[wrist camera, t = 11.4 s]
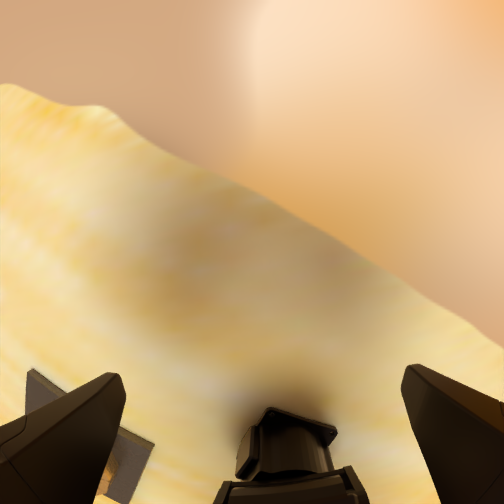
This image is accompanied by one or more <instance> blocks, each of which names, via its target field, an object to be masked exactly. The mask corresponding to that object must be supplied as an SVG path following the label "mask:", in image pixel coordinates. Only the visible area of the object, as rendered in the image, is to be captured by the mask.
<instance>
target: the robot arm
mask: <svg viewBox="0 0 504 504" xmlns="http://www.w3.org/2000/svg"><path fill="white" fill-rule="evenodd" d="M401 393H402V397H403V400H404V403H405V406H406V410H407V413H408V417H409V420H410V423H411V427H412V430H413V432H414V435H415V437H416V439H417V442H418V444H419V447H420V449H421V452H422V454H423V457H424V459H425V462H426V464H427V467H428V469H429V472H430V475H431V477H432V480H433V483H434V485H435V488H436V491H437V494H438V496H439V499H440V502H441V504H504V403H503V402H501V401H500V402H499V400H497V399H494V398H492V397H490V396H488V395H485V394H483V393H481V392H479V391H477V390H474V389H472V388H470V387H468V386H466V385H464V384H461V383H459V382H457V381H455V380H453V379H451V378H448V377H446V376H444V375H442V374H440V373H438V372H436V371H434V370H431V369H429V368H427V367H425V366H423V365H421V364H412V365H408V366H407V367H406V369H405V373H404V376H403V380H402V384H401ZM125 402H126V392H125V389H124V386H123V383H122V379H121V377H120V375H119V374H118V373H111V372H107V373H105V374H103V375H101V376H99V377H97V378H95V379H94V380H92V381H90V382H88V383H86V384H84V385H82V386H80V387H79V388H77V389H75V390H73V391H71V392H69V393H67V394H65V395H63V396H61V397H59V398H58V399H56V400H54V401H52V402H50V403H48V404H46V405H44V406H42V407H40V408H38V409H36V410H34V411H32V412H30V413H28V415H24V416H22V417H20V418H18V419H16V420H14V421H12V422H9V423H7V424H5V425H2V426H0V504H93V502H94V499H95V496H96V493H97V490H98V487H99V484H100V481H101V478H102V475H103V473H104V470H105V467H106V464H107V461H108V459H109V456H110V453H111V451H112V448H113V445H114V443H115V440H116V437H117V433H118V429H119V425H120V421H121V417H122V413H123V409H124V405H125ZM271 412H272V413H274V414H273V415H270V414H269V413H271ZM330 432H333V433H331V434H330ZM337 434H338V432H337V429H336V428H335V427H332V426H329V425H325V424H322V423H319V422H316V421H312V420H309V419H306V418H303V417H300V416H297V415H294V414H291V413H288V412H285V411H282V410H279V409H277V408H273V407H269V408H267V409H266V410H265V412H264V413H263V415H262V417H261V418H260V420H259V421H258V423H257V425H253V426H251V427H250V429H249V430H248V432H247V434H246V435H245V437H244V438H243V440H242V441H241V443H240V444H239V449H238V454H237V464H236V472H235V476H236V478H237V479H241V482H232V481H224V482H223V484H222V486H221V488H220V489H219V491H218V494H217V496H216V498H215V500H214V502H213V504H370V503H369V499H368V496H367V493H366V491H365V489H364V487H363V486H362V484H361V482H360V480H359V479H358V477H357V475H356V473H355V472H354V470H353V468H352V466H351V465H350V466H346V467H343V468H342V469H338V470H334V466H333V463H332V459H331V455H330V452H329V448H328V446H329V445H330V444H331V442H332V441H333V440H334V439H335V437H336V436H337Z"/></svg>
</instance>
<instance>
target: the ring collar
mask: <svg viewBox="0 0 504 504" xmlns="http://www.w3.org/2000/svg"><path fill="white" fill-rule="evenodd" d="M65 394H66V393H65V392H63V391H62V390H61V389H59V388H58V387H56V386H55V385H54V384H52V383H51V382H50V381H48V380H47V379H46V378H44V377H43V376H42V375H40V374H39V373H38V372H36V371H35V370H34V369H32V370H30V371H28V372H27V381H26V401H25V415H28V413H30V412H32V411H34V410H36V409H38V408H40V407H42V406H44V405H46V404H48V403H50V402H52V401H54V400H56V399H58V398H59V397H61V396H63V395H65ZM153 447H154V444H152V443H150V442H148V441H146V440H144V439H142V438H140V437H138V436H136V435H134V434H132V433H130V432H129V431H127V430H125V429H123V428H121V427H119V429H118V433H117V437H116V440H115V443H114V445H113V448H112V451H111V453H110V456H109V459H108V461H107V464H106V467H105V470H104V473H103V475H102V478H101V481H100V484H99V487H98V490H97V493H96V495H101V494H103V495H105V496H107V497H109V498H111V499H112V500H114V501H116V502H118V503H120V504H129V503H130V501H131V498H132V496H133V494H134V491H135V489H136V487H137V484H138V482H139V480H140V477H141V475H142V473H143V470H144V468H145V466H146V464H147V461H148V459H149V457H150V454H151V452H152V450H153Z"/></svg>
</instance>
